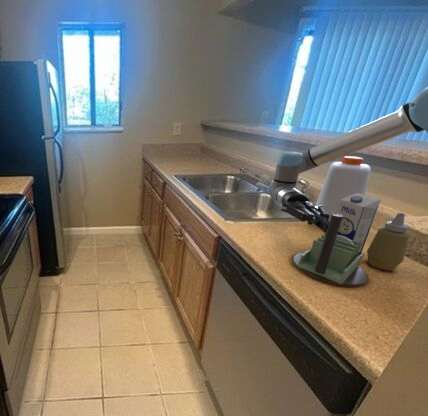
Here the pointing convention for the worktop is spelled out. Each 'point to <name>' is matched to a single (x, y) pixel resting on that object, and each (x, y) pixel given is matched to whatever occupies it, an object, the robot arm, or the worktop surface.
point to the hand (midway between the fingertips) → (329, 228)
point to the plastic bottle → (343, 182)
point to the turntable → (352, 281)
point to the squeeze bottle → (389, 244)
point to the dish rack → (332, 254)
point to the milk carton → (357, 217)
